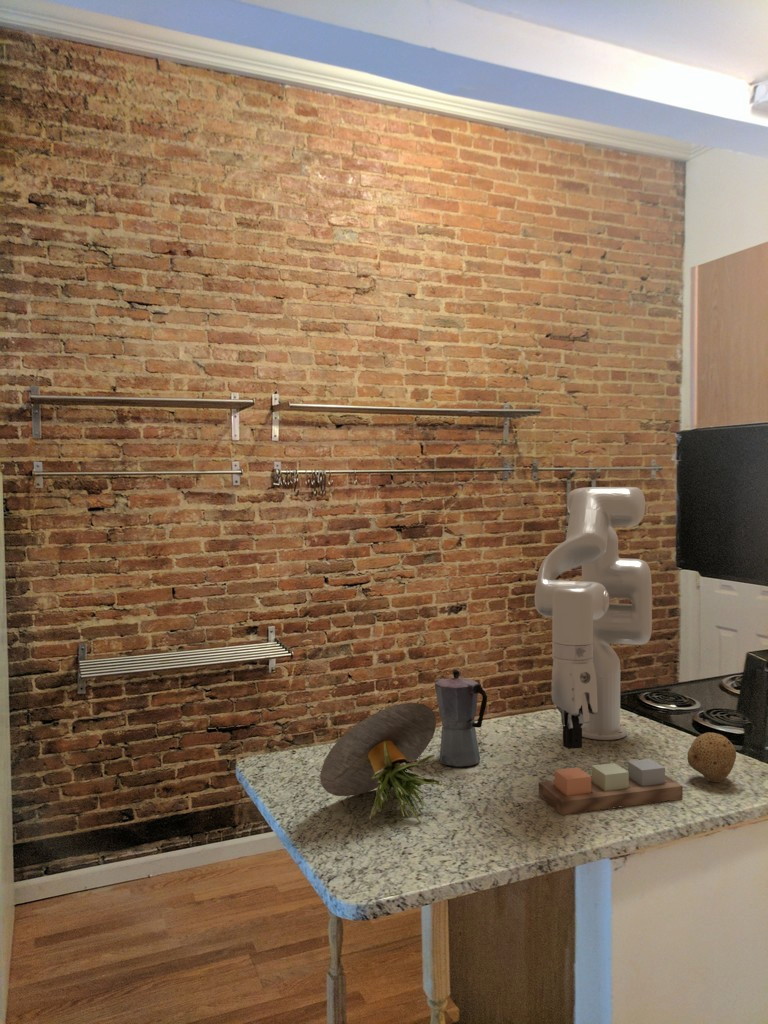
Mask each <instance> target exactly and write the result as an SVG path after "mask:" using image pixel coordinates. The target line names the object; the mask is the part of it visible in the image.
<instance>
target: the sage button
mask: <svg viewBox="0 0 768 1024" xmlns="http://www.w3.org/2000/svg"><path fill="white" fill-rule="evenodd" d="M591 776H592V782H593V783H594V784H595V785H597V786H598V787H600V788H601V789H602V790H604V791H610V790H618V789H626V788H629V772H628V770H626V769H624V768H623V767H621V766H620V765H619V764H617V763H615V762H613V763H603V764H596V765H591Z"/></svg>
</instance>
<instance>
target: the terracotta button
mask: <svg viewBox="0 0 768 1024" xmlns="http://www.w3.org/2000/svg"><path fill="white" fill-rule="evenodd" d="M591 776H592V775H589V774H588V773H587V772H585V771H584V770H582V769H581V768H580V767H569V768H562V769H560V768H559V769H555V770H554V780H555V787H556V788H557V789H558V790H560V791H561V792H562V793H563V794H565V795H566V796H572V795H579V794H587V793H591Z"/></svg>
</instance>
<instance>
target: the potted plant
mask: <svg viewBox="0 0 768 1024" xmlns="http://www.w3.org/2000/svg"><path fill="white" fill-rule="evenodd" d="M436 717H437V716H436V714H435V712H434V711H433V709H432V707H429V706H428V705H426V704H424V703H423V704H422V703H418V702H406V703H399V704H396V705H392V706H388V707H385V708H384V709H381V710H379V711H377V712H375V713H373V714H372V715H369V716H368V717H366V718H364V719H363V720H361V721H360V722H359V723H357V724H356V725H354V726H353V727H351V728H350V729H349V730H348V731H346V732H345V734H343V735H342V737H340V738H339V739H338V740H337V741H336V742H335V744H334V745H333V746H332V747H331V749H330V750H329V752H328V753H327V755H326V757H325V759H324V761H323V763H322V767H321V769H320V774H319V779H320V780H319V781H320V783H321V786H322V789H324V790H325V792H327V793H328V794H330V795H333V796H336V797H351V796H357V795H361V794H364V793H368V792H371V791H373V790H376V792H375V794H376V795H375V798H374V803H373V805H372V807H371V810H370V814H369V821H372V818H374V816H375V815H376V814H377V812H378V813H379V812H382V807H383V804H384V802H385V801H386V802H387V801H388V796H389V797H390V798H391V799H393V798H394V797H393V795H392V793H391V790H392V789H393V792H394V794H395V796H396V798H397V801H398V804H399V806H400V807H399V808H400V811H401V815H402V816H403V817H405V815H406V817H407V818H408V819H410V815H409V813H408V812H407V808H406V805H407V806H408V809H409V810H410V812H411V813H412V814H413V815H414V817H415V818H416V820H417V821H418V823H419V824H420V825H421V824H422V823H421V820H420V819H419V817H418V815H419V813H418V812H420V814H424V812H423V811H422V810H421V808H420V806H421V807H422V809H424V808H425V807H424V803H423V801H422V800H421V798H423V799H424V797H423V796H422V795H420V794H426V792H425V791H424V792H423V791H422V790H421V789H420V788H419V787H421V786H422V784H424V785H429V784H430V785H431V784H433V785H436V786H443V787H447V788H451V787H452V786H451V785H447V784H441V783H440V781H438V780H437V779H433V778H428V777H425V776H422V775H420V774H417V773H412V771H413V769H412V768H415V767H417V766H418V765H420V764H422V763H424V762H426V761H429V759H431V758H433V757H435V756H436V755H435V754H431V755H428V756H426V757H423V758H422V759H419V758H420V757H421V755H422V754H423V753H424V752H425V750H426V748H427V747H428V746H429V744H430V742H431V741H432V739H433V738H434V735H435V732H436V728H437V727H436V726H437V718H436ZM418 759H419V760H418ZM408 771H411V772H408ZM413 796H414V797H413ZM415 798H416V799H415ZM404 802H405V803H406V805H405V803H404ZM418 804H420V806H419V805H418Z"/></svg>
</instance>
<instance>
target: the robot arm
mask: <svg viewBox="0 0 768 1024" xmlns="http://www.w3.org/2000/svg"><path fill="white" fill-rule="evenodd" d="M567 507H568V511H569V517H568V518H569V519H568V522H567V523H568V524H567V531H566V538H565V540H564V541H562V542H561V543H560V544H558V545H557V546H556V547H554V549H552V550H551V551H550V552H549V554H548V555H546V557H545V558H544V559H543V561H542V562H541V564H540V567H539V569H538V574H537V580H536V583H535V589H534V606H535V609H536V611H537V613H538V614H540V615H542V616H543V617H546V618H552V621H551V622H552V628H551V630H552V631H551V632H552V636H551V637H552V639H551V640H552V642H551V645H552V647H551V648H552V651H551V652H552V654H551V655H552V657H551V658H552V670H551V671H552V672H551V701H552V703H553V704H554V705H555V706H556V709H557V710H558V712H559V713H560V718H561V719H560V720H561V725H562V746H563V747H564V748H565V749H567V750H572V749H581V748H582V747H583V738H587V739H590V740H597V741H598V740H599V741H614V740H615V741H616V740H620V739H623V738H625V737H626V736H627V734H628V730H627V727H626V726H625V725H622V724H621V662H620V661H621V659H620V658H619V655H618V654H617V652H616V651H615V650H614V649H613V647H612V644H620V645H634V646H635V645H636V646H639V645H645V644H648V642H649V641H650V640H651V638H652V630H653V609H652V608H653V595H652V593H653V591H652V587H653V585H652V583H653V581H652V573H651V569H650V565H649V564H648V563H647V562H646V561H645V560H643V559H639V558H625V557H624V558H623V557H622V558H621V557H620V556H619V537H618V535H617V533H616V531H615V529H614V528H613V527H619V528H620V527H621V528H623V527H625V528H626V527H628V528H629V527H631V528H632V527H636V526H638V525H639V524H640V523H641V522H642V521H643V519H644V516H645V513H646V498H645V495H644V493H643V491H642V489H640V488H639V487H636V486H635V487H634V486H630V487H629V486H620V487H619V486H615V487H614V486H610V487H609V486H593V487H591V486H588V487H579V488H575V489H573V490H571V491H570V492H569V493H568V495H567ZM578 567H579V568H580V567H581V580H565V579H564V580H561V579H557V578H558V577H559V576H561V574H563V573H566V572H567V571H570V570H572V569H575V568H578ZM610 599H628V600H629V601H630V602H631V603H616V602H610ZM610 644H611V645H610Z"/></svg>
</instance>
